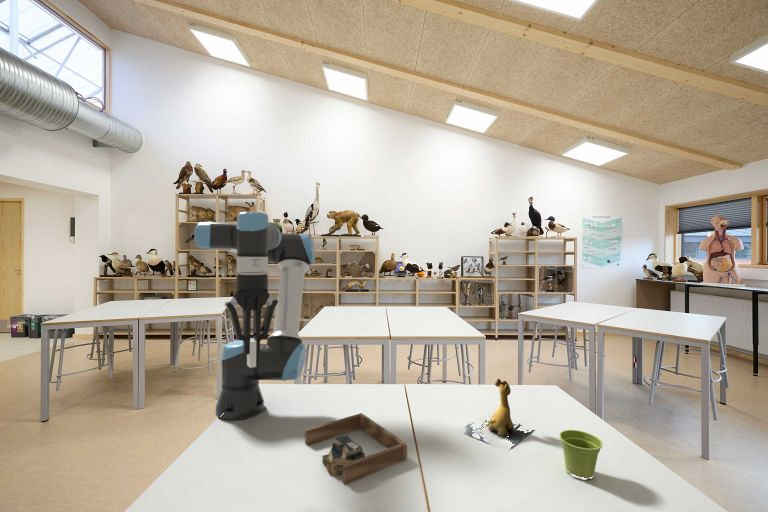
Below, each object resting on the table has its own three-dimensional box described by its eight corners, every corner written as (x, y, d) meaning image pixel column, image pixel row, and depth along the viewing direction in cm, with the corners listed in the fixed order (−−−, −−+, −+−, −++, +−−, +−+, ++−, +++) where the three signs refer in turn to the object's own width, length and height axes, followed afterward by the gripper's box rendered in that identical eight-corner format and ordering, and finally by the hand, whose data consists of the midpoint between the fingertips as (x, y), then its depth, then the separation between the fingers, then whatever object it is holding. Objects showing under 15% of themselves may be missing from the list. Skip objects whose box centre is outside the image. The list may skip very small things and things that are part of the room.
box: (305, 443, 105) (305, 429, 105) (361, 425, 116) (361, 413, 116) (344, 484, 87) (345, 467, 87) (407, 459, 98) (407, 444, 98)
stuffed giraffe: (535, 430, 115) (533, 378, 115) (507, 454, 102) (506, 396, 102) (487, 415, 126) (486, 368, 126) (457, 435, 113) (455, 383, 113)
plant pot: (600, 490, 86) (601, 453, 86) (556, 476, 91) (557, 441, 91) (602, 470, 94) (603, 436, 94) (561, 458, 99) (561, 426, 99)
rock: (319, 464, 95) (319, 442, 95) (351, 453, 101) (351, 432, 100) (336, 482, 88) (336, 458, 88) (369, 468, 94) (369, 446, 94)
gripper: (229, 275, 88) (228, 374, 89) (282, 273, 96) (281, 365, 96) (221, 273, 94) (220, 366, 95) (272, 271, 102) (271, 358, 102)
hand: (251, 365), depth 95 cm, fingers closed
